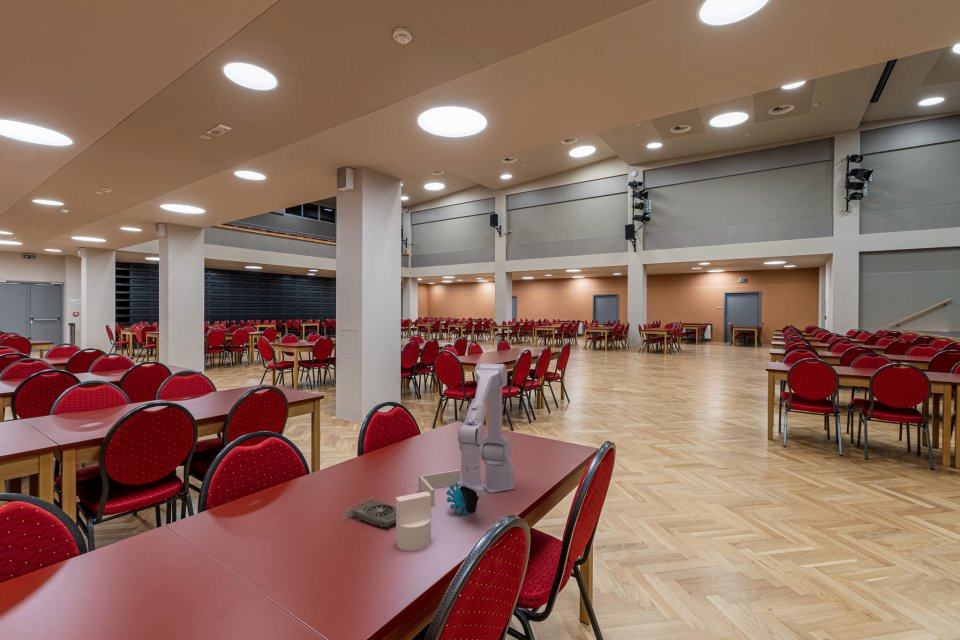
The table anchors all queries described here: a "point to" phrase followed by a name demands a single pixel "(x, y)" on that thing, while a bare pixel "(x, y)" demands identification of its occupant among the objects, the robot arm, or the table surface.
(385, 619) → the table surface
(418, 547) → the cylinder with rectangular tab
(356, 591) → the table surface
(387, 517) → the graphics card
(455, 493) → the blue virus model
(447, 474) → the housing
